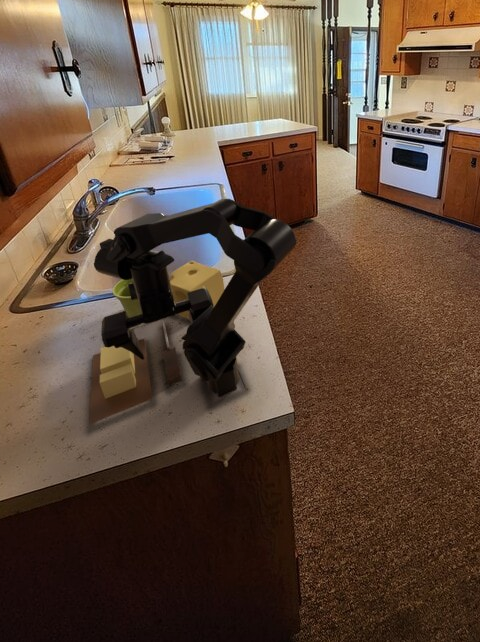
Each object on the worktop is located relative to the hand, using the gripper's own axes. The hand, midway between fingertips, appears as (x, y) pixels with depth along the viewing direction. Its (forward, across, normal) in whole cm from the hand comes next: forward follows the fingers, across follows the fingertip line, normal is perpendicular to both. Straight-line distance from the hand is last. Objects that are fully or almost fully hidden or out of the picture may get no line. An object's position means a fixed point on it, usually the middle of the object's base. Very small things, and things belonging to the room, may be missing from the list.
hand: (168, 348), depth 69 cm
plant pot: (+4, +4, -20) cm, 21 cm away
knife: (+4, 0, -3) cm, 6 cm away
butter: (+3, +9, -3) cm, 10 cm away
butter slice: (+3, +9, +2) cm, 10 cm away
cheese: (+5, -8, -16) cm, 19 cm away
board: (+4, +9, -1) cm, 10 cm away
